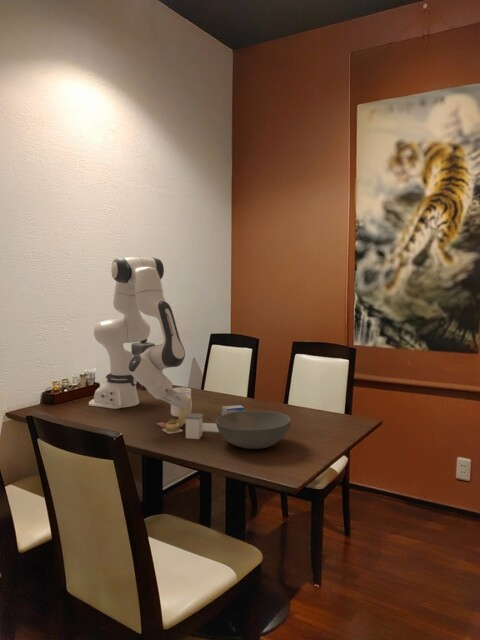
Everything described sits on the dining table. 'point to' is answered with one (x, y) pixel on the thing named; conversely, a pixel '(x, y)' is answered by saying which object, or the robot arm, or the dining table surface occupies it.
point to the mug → (185, 393)
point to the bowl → (253, 428)
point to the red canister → (138, 349)
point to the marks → (169, 431)
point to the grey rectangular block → (193, 425)
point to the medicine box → (232, 409)
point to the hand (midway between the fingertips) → (183, 409)
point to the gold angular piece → (174, 424)
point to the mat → (209, 427)
